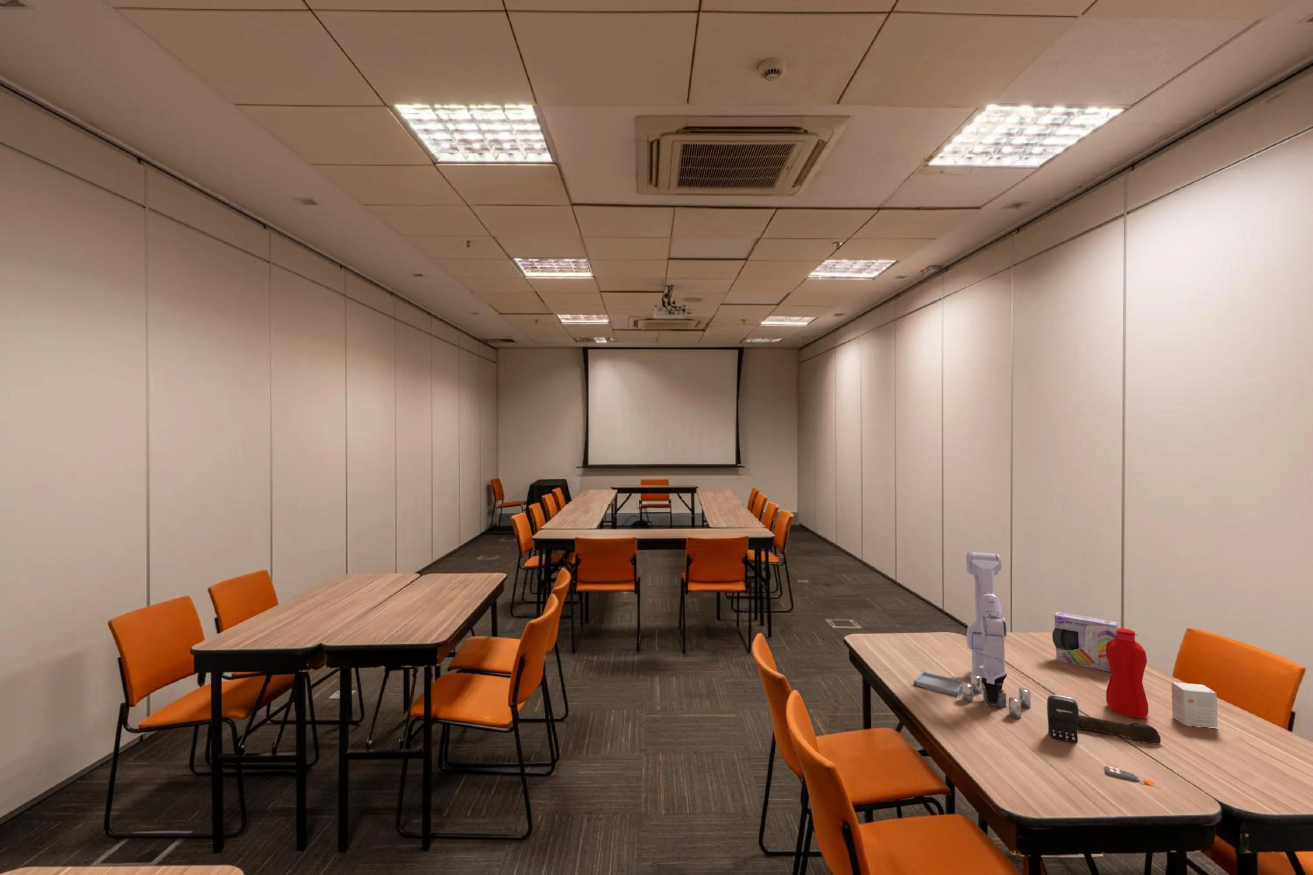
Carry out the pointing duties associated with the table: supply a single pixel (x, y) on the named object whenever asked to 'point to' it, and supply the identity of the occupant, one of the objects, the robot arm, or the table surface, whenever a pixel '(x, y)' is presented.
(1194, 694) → the small box
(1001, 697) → the nut
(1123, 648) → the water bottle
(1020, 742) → the table surface
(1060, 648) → the cake pan box
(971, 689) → the cylinder
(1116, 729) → the dark brown bar
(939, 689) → the tray
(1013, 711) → the cylinder
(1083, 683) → the table surface
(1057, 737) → the battery charger
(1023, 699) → the cylinder
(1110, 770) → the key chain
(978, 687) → the cylinder
